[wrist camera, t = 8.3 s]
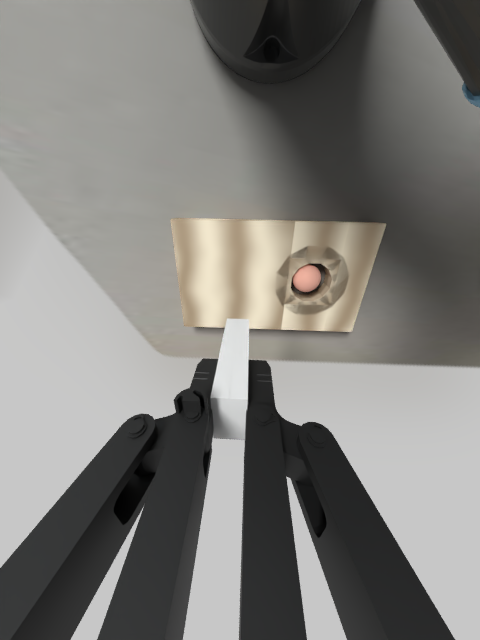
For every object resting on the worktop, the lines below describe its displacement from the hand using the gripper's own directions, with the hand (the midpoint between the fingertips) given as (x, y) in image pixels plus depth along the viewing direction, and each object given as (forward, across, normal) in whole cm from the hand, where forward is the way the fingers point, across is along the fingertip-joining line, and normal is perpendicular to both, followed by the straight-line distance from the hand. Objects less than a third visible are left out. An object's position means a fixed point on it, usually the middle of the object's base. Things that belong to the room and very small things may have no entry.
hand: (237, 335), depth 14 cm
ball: (+14, +8, 0) cm, 16 cm away
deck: (+16, +4, -1) cm, 16 cm away
